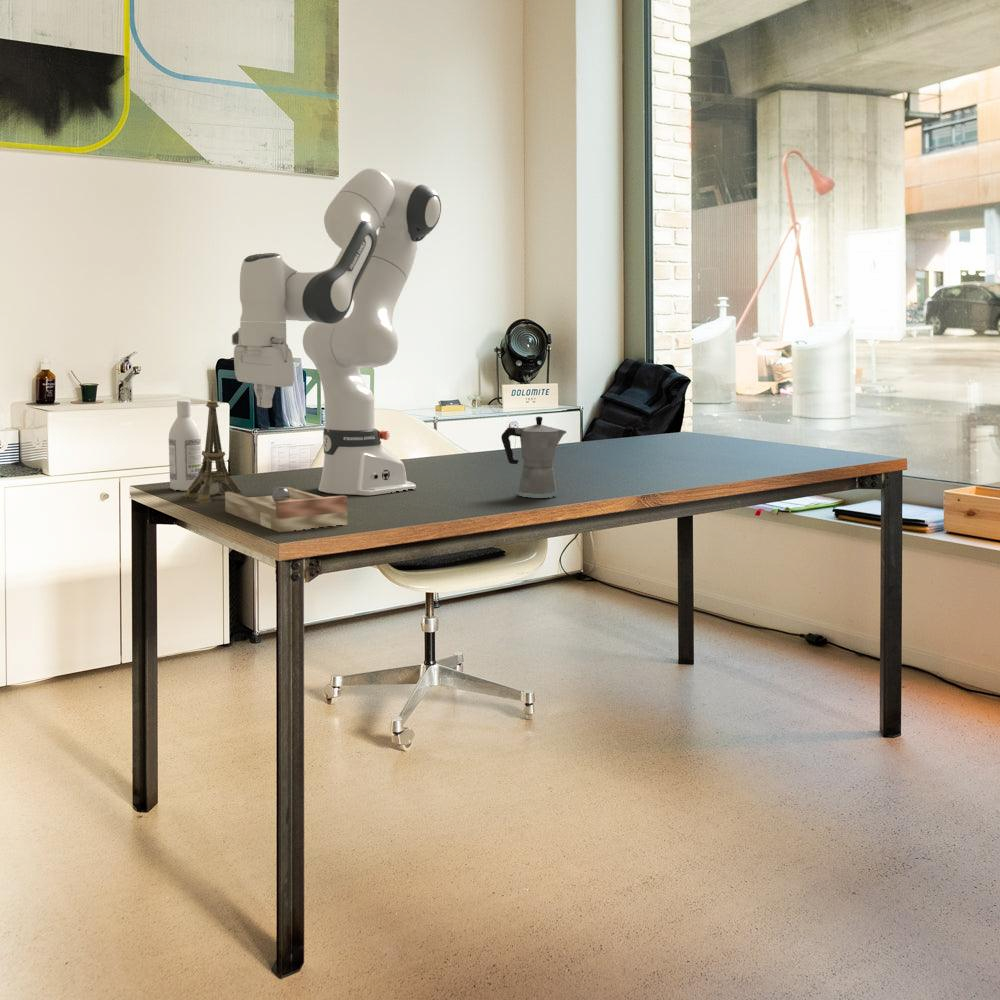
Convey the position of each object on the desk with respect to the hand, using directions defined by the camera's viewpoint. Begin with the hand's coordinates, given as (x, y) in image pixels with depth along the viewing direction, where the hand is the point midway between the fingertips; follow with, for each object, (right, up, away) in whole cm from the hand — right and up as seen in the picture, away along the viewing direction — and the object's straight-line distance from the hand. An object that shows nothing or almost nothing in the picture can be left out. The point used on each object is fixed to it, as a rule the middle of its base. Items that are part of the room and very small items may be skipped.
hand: (264, 407), depth 216 cm
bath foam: (-24, -16, +30) cm, 42 cm away
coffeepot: (+54, -18, +30) cm, 65 cm away
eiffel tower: (-15, -18, +20) cm, 31 cm away
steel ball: (+4, -18, -3) cm, 18 cm away
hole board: (+5, -22, -4) cm, 23 cm away
